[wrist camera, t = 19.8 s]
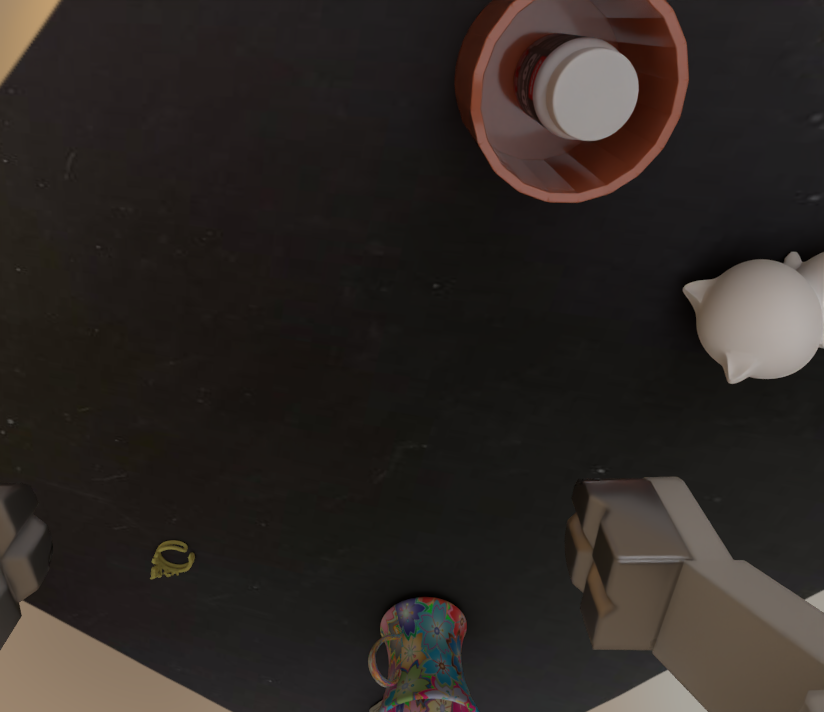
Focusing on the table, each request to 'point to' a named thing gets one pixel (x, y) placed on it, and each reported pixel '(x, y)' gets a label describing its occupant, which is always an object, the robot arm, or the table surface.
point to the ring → (161, 561)
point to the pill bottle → (576, 86)
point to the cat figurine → (761, 316)
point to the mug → (423, 658)
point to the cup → (532, 143)
